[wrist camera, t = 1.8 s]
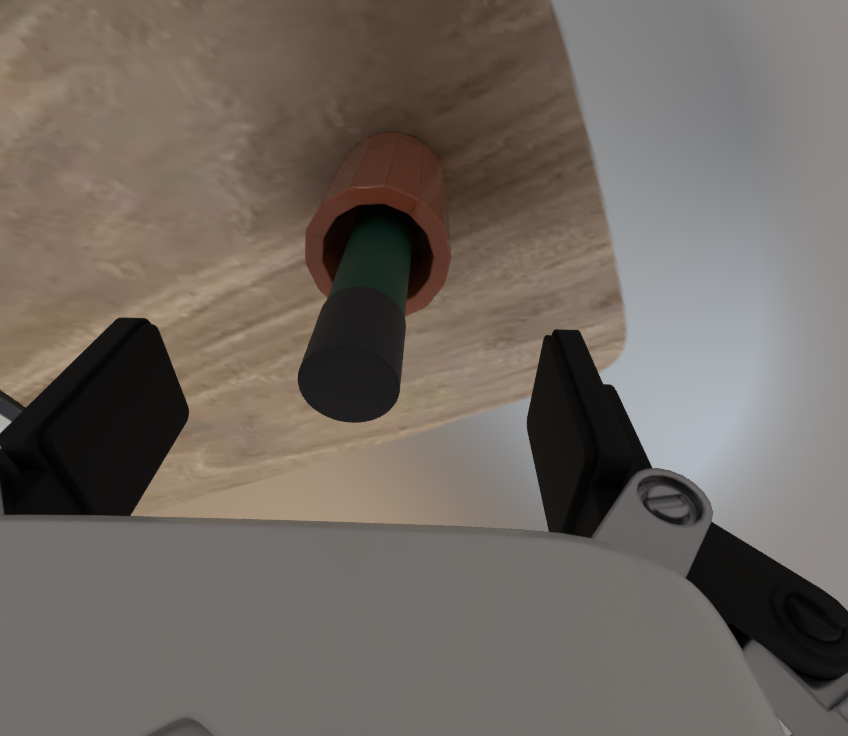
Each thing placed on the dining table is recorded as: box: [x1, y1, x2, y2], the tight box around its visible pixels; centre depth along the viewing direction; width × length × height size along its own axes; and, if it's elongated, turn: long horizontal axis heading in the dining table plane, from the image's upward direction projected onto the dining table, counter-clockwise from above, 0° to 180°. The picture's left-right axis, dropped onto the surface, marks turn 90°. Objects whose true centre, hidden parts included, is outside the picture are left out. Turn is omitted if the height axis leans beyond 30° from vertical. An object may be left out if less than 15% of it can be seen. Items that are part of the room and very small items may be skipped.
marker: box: [298, 204, 415, 423], centre depth 16 cm, size 2×2×13 cm
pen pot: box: [305, 132, 451, 316], centre depth 18 cm, size 5×5×7 cm
